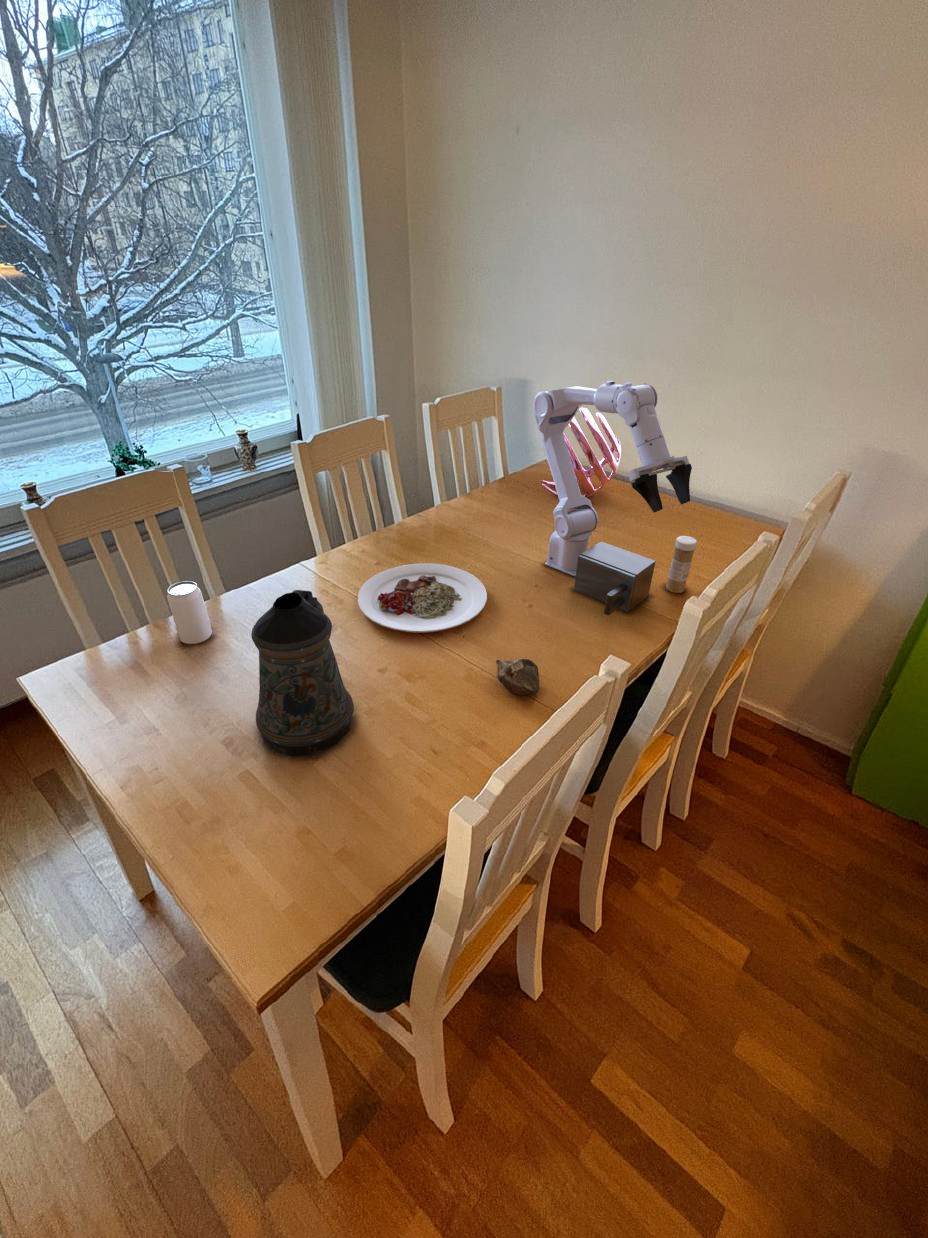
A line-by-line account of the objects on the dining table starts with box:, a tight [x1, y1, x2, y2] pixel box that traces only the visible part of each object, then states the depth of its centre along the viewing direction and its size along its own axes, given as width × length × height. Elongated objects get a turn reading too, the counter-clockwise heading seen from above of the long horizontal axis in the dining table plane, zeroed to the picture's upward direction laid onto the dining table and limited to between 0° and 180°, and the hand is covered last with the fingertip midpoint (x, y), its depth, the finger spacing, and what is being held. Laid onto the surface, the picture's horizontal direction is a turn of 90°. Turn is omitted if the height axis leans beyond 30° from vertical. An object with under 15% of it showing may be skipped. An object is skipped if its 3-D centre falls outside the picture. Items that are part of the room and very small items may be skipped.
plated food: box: [357, 562, 488, 633], centre depth 138 cm, size 30×30×3 cm
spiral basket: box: [540, 407, 622, 498], centre depth 189 cm, size 28×28×27 cm
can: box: [166, 580, 213, 645], centre depth 123 cm, size 6×6×12 cm
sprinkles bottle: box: [665, 535, 698, 594], centre depth 141 cm, size 5×5×14 cm
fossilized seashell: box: [495, 657, 540, 695], centre depth 113 cm, size 8×7×10 cm
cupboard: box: [581, 541, 657, 612], centre depth 141 cm, size 9×15×10 cm, turn 48°
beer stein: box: [251, 589, 355, 757], centre depth 99 cm, size 16×19×25 cm
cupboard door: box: [573, 555, 636, 616], centre depth 136 cm, size 8×15×9 cm, turn 48°
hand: (672, 506), depth 120 cm, fingers open, 7 cm apart
